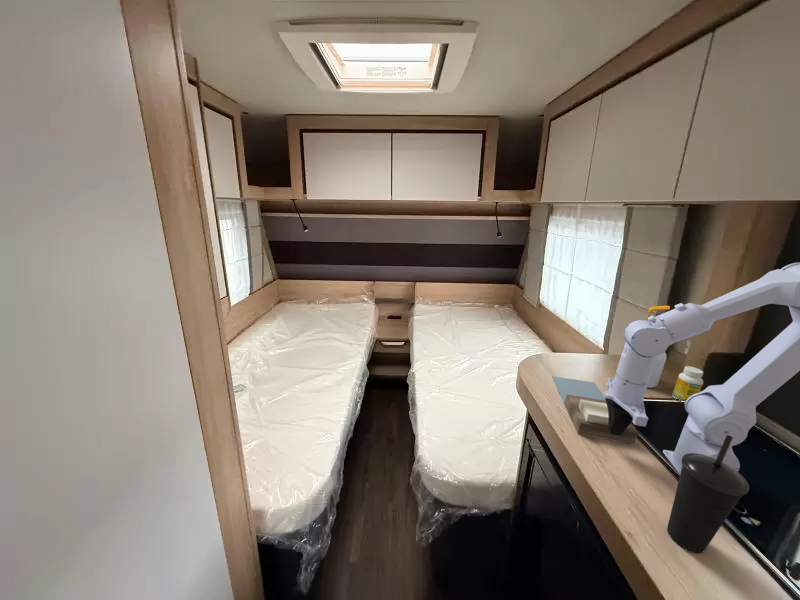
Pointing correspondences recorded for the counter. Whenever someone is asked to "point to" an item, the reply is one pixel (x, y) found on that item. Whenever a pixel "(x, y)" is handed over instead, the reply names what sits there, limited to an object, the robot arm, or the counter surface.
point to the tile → (595, 412)
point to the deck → (595, 428)
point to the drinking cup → (704, 498)
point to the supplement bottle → (688, 383)
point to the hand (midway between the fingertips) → (614, 432)
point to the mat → (577, 388)
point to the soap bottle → (660, 358)
